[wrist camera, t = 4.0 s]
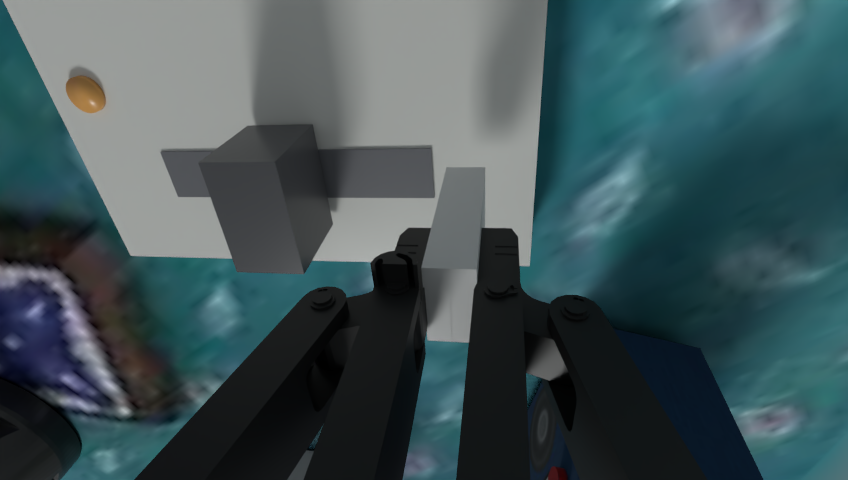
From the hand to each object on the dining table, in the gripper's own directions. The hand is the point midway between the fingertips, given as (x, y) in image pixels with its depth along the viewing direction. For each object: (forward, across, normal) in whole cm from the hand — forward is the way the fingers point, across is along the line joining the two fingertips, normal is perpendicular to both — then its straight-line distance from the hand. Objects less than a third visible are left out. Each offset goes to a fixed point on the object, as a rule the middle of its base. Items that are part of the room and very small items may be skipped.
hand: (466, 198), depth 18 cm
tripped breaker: (+2, +8, 0) cm, 8 cm away
